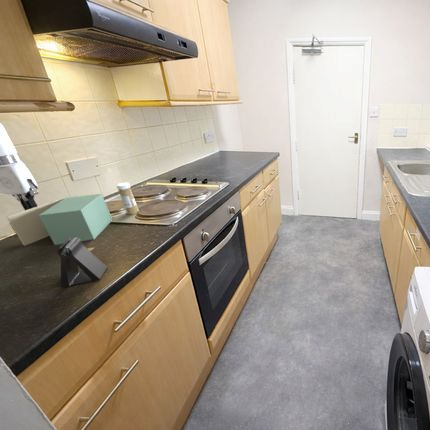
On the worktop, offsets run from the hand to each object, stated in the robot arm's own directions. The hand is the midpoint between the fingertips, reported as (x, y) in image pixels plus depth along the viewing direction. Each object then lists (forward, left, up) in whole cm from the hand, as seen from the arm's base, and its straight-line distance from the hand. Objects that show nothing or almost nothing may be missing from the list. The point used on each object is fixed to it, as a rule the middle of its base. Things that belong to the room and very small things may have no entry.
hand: (32, 209), depth 97 cm
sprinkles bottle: (+27, +11, -10) cm, 31 cm away
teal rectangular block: (+15, -3, -10) cm, 18 cm away
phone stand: (+29, -37, -10) cm, 48 cm away
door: (+2, -1, -10) cm, 10 cm away
